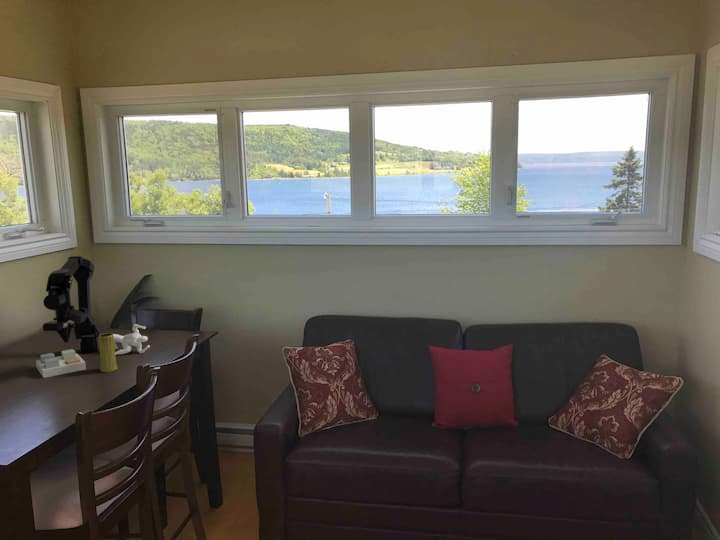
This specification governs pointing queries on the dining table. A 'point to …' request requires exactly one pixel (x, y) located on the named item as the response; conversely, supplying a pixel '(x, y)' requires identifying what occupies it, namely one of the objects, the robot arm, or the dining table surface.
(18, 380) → the dining table surface
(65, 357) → the key sage
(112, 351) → the vase
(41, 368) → the keypad
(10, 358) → the dining table surface
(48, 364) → the key grey
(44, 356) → the key slate
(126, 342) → the person figurine
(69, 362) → the key terracotta
